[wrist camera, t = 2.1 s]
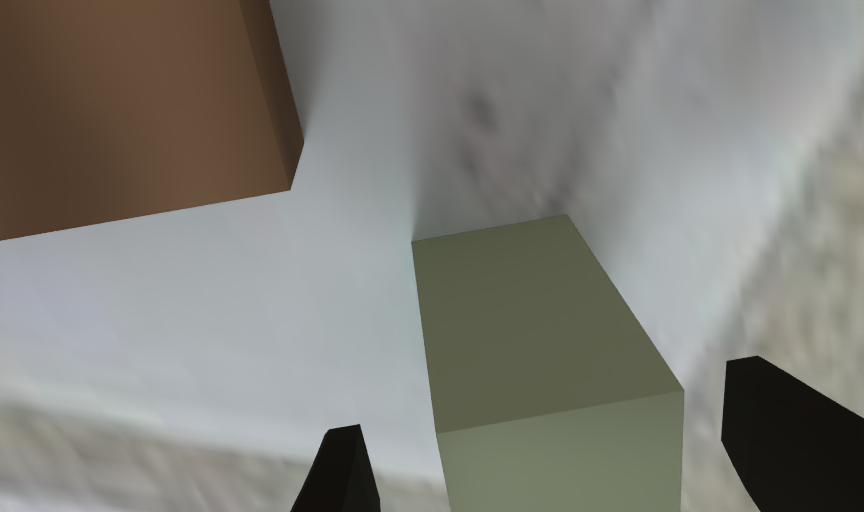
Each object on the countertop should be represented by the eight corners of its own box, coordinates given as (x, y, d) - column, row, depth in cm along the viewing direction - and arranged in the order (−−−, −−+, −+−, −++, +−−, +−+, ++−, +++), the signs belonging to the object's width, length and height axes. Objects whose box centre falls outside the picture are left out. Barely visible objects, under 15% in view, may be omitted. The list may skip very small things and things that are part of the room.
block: (434, 367, 18) (467, 594, 12) (411, 241, 17) (435, 434, 10) (575, 343, 18) (679, 557, 12) (566, 214, 17) (684, 390, 10)
